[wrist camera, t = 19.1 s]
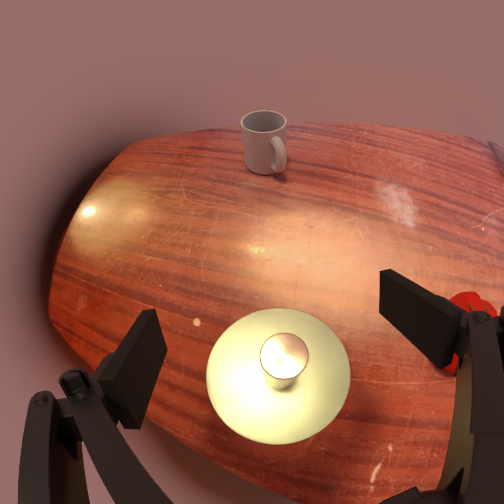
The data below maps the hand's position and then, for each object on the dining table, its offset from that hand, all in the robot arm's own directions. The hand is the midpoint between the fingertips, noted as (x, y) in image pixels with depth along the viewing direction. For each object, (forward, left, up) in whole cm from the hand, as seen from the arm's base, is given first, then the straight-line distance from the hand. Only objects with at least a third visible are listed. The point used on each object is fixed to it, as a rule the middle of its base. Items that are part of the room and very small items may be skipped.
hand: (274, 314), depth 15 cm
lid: (+2, -2, -10) cm, 10 cm away
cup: (-16, +28, -18) cm, 37 cm away
